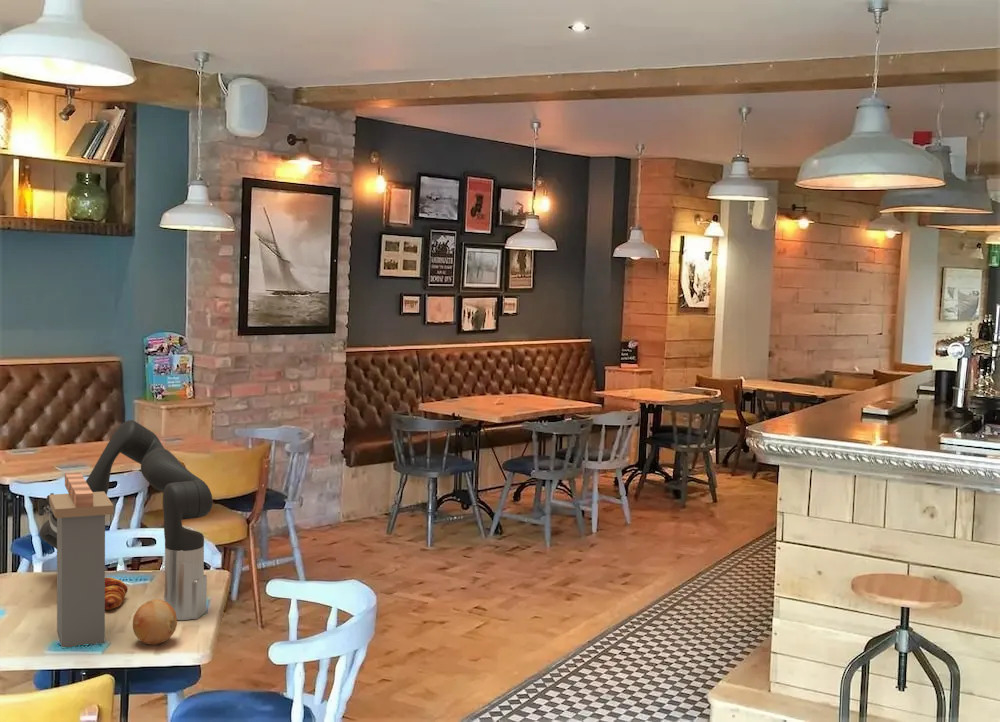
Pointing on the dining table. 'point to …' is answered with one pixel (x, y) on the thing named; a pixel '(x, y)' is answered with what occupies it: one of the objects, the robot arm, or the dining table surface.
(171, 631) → the onion
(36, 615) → the dining table surface
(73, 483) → the batten
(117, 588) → the croissant
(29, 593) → the dining table surface
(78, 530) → the stand
